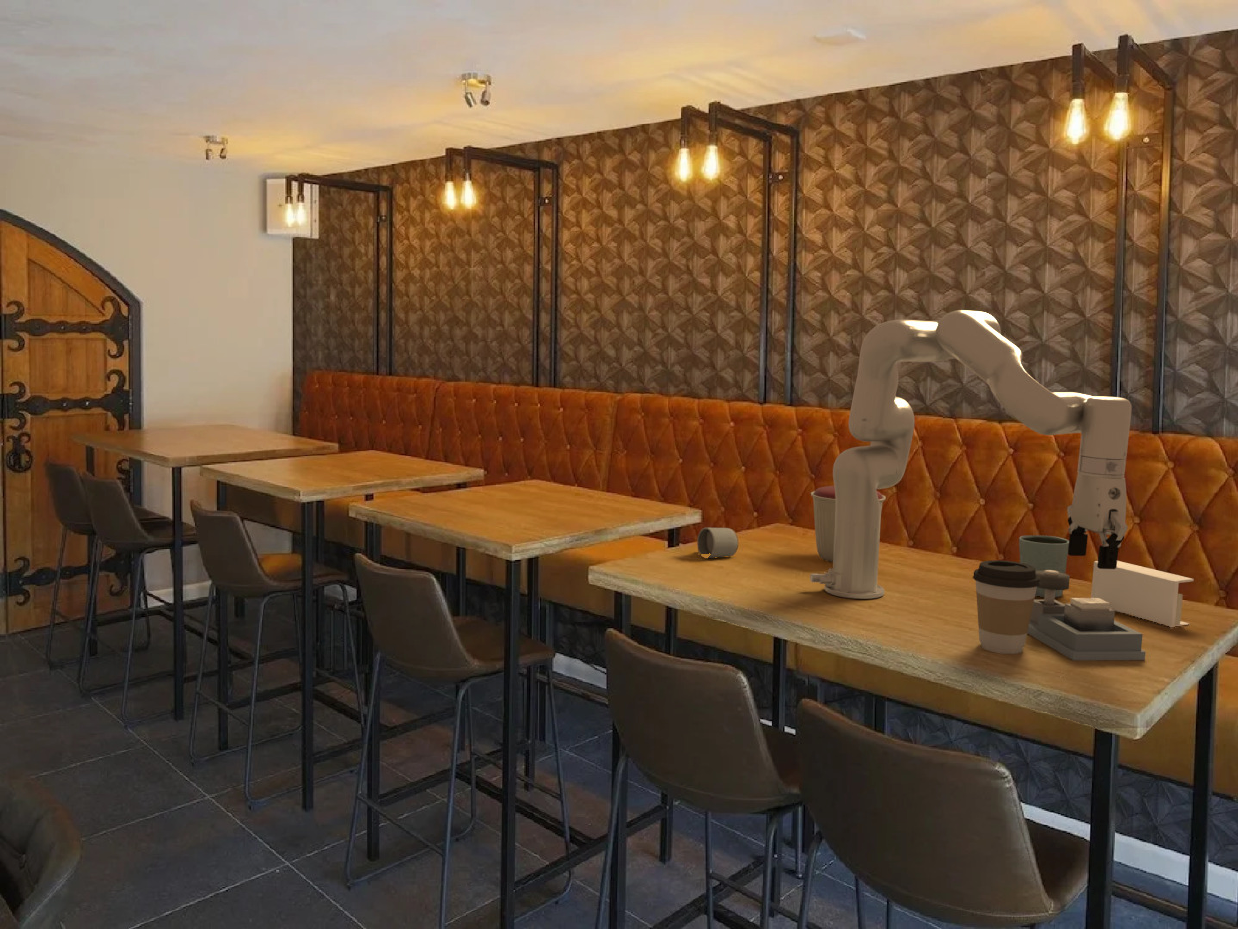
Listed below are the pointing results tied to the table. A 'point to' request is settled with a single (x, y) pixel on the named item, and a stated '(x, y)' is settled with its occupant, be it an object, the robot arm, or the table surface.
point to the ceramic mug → (717, 542)
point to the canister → (827, 519)
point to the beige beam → (1140, 592)
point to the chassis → (1083, 636)
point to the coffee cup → (1004, 604)
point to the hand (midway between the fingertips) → (1091, 561)
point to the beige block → (1089, 615)
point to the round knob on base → (1052, 584)
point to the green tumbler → (1044, 555)
